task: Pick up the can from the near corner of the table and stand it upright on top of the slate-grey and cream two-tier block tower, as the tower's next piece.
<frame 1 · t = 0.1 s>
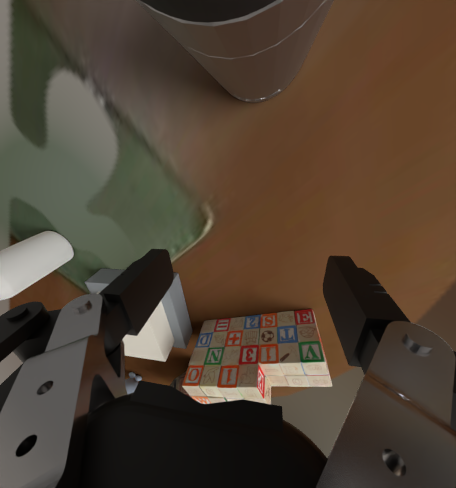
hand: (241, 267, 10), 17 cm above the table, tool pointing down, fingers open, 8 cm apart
tower base: (149, 301, 40), on the table
toy figure: (137, 373, 58), on the table
can: (60, 244, 36), on the table
stack of blocks: (257, 324, 38), on the table
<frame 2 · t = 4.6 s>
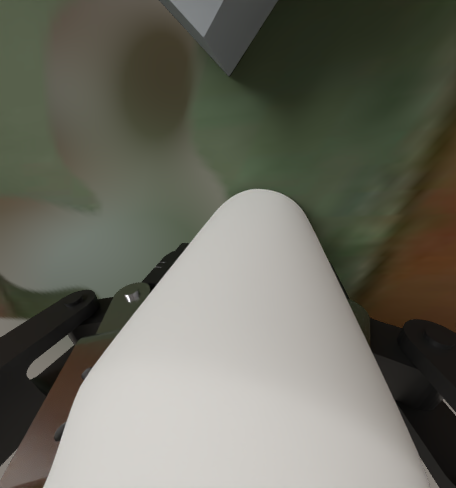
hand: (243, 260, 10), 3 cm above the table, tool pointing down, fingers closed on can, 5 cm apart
can: (258, 235, 13), on the table, touching gripper
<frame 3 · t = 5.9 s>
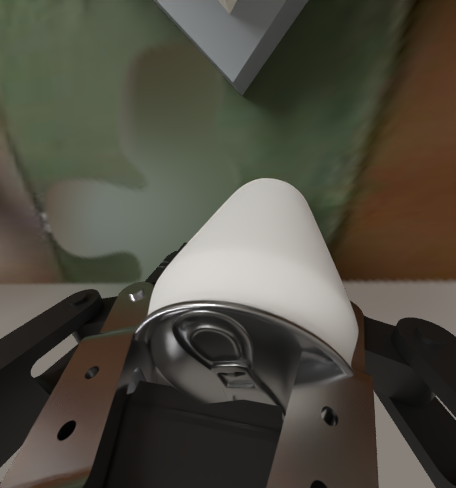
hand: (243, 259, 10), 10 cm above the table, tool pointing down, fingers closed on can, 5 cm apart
can: (265, 219, 15), point 4 cm above the table, touching gripper
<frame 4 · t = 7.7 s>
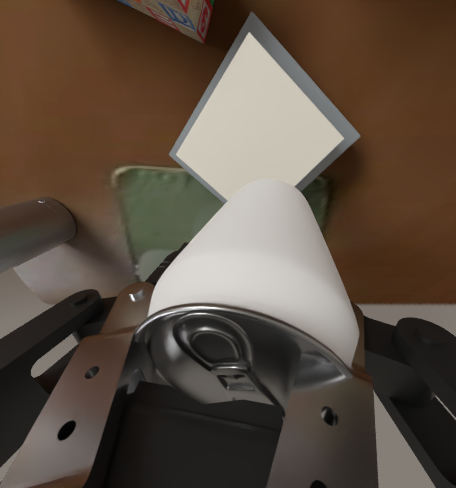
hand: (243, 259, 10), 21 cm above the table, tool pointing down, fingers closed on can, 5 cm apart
tower base: (256, 145, 27), on the table
can: (266, 219, 15), point 15 cm above the table, touching gripper
when the fingers open (14 cm above the table, at t = 9.4 s): can stays where it is, resting on tower base.
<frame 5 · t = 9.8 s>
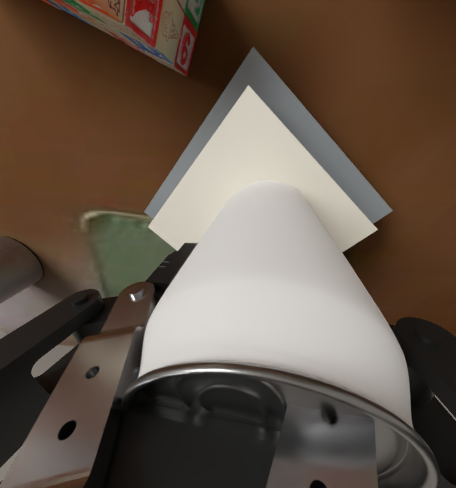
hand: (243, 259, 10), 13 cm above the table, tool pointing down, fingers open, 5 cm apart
tower base: (255, 200, 21), on the table
can: (264, 223, 14), point 8 cm above the table, touching tower base
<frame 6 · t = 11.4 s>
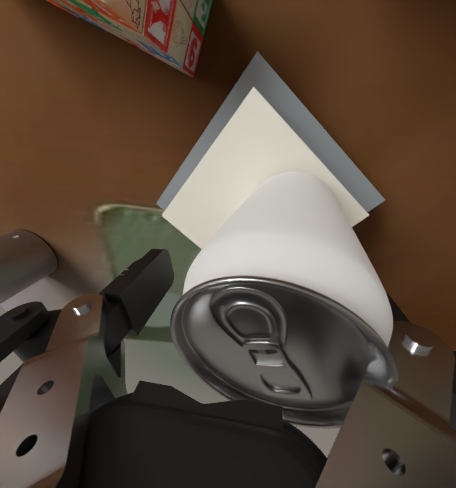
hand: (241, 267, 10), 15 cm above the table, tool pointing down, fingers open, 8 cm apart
tower base: (259, 192, 23), on the table
can: (289, 213, 15), point 8 cm above the table, touching tower base
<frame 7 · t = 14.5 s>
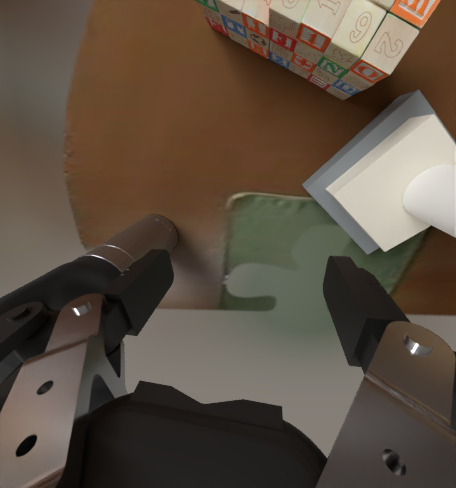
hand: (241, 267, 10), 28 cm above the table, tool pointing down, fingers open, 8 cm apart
tower base: (375, 182, 31), on the table
can: (430, 191, 24), point 8 cm above the table, touching tower base
stack of blocks: (289, 37, 26), on the table
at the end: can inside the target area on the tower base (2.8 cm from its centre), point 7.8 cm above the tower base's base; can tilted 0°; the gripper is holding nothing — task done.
